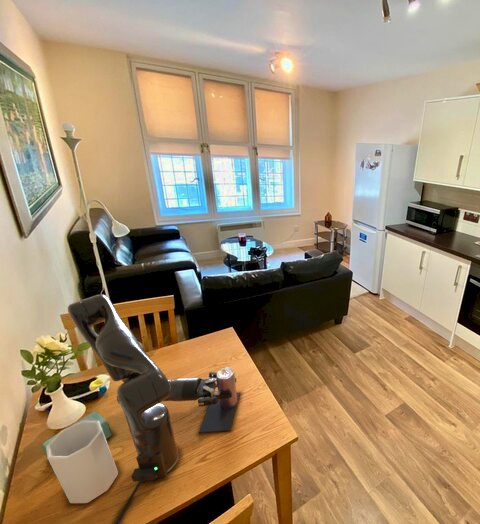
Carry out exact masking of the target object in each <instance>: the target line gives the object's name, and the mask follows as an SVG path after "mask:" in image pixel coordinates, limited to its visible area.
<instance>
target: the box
mask: <svg viewBox="0 0 480 524" xmlns="http://www.w3.org/2000/svg"><path fill="white" fill-rule="evenodd" d="M80 421H99V422H100V425H101V428H102V430H103V433H104V436H105V438H106V440H107V439H109V438H110V437H112V436H113V432H112V430H111V428H110V425H109V423H108V421H107V419H106V418H105V417H103V415H101V414H100V413H98V411H97V410H94V411H92V412H91V413H89V414H87V415H85V416H84V417H82V418H80V419H79V420H78V421H76V422H74V423H73V424H71V425H69V426H68V427H70V426H72V425H74V424H76V423H78V422H80ZM56 436H57V434H55V435H53V436H51V437H50V438H49V439H47V440H46V441H44V442H43V443H42V445H41V448H42V451H43V454H44V455H45V457H46V458H47V451H46V446H47V445H48V444H49V443H50V442H51V441H52V440H53V439H54V438H55V437H56Z"/></svg>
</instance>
